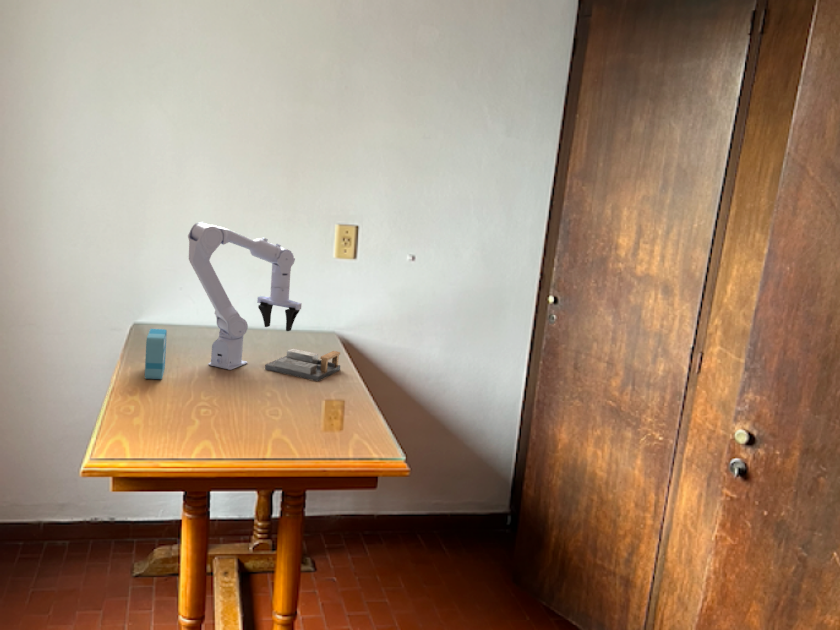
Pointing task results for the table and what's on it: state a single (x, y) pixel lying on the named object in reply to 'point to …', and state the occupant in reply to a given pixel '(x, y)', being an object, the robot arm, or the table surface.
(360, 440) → the table surface
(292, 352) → the bar
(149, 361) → the data package
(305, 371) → the base
